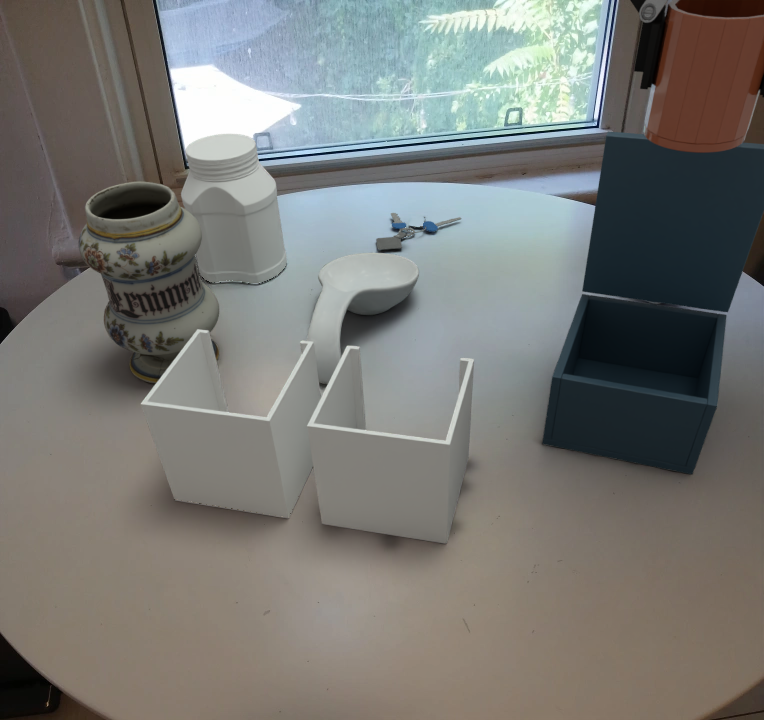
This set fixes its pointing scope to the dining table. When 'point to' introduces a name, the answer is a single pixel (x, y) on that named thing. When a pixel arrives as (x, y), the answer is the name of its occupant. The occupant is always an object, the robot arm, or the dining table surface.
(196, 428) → the white double open bin
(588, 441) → the dark blue box base
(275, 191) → the jar
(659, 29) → the robot arm
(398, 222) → the key chain
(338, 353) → the spoon rest
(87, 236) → the apothecary jar
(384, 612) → the dining table surface
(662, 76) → the cup
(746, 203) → the lid
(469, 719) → the dining table surface
